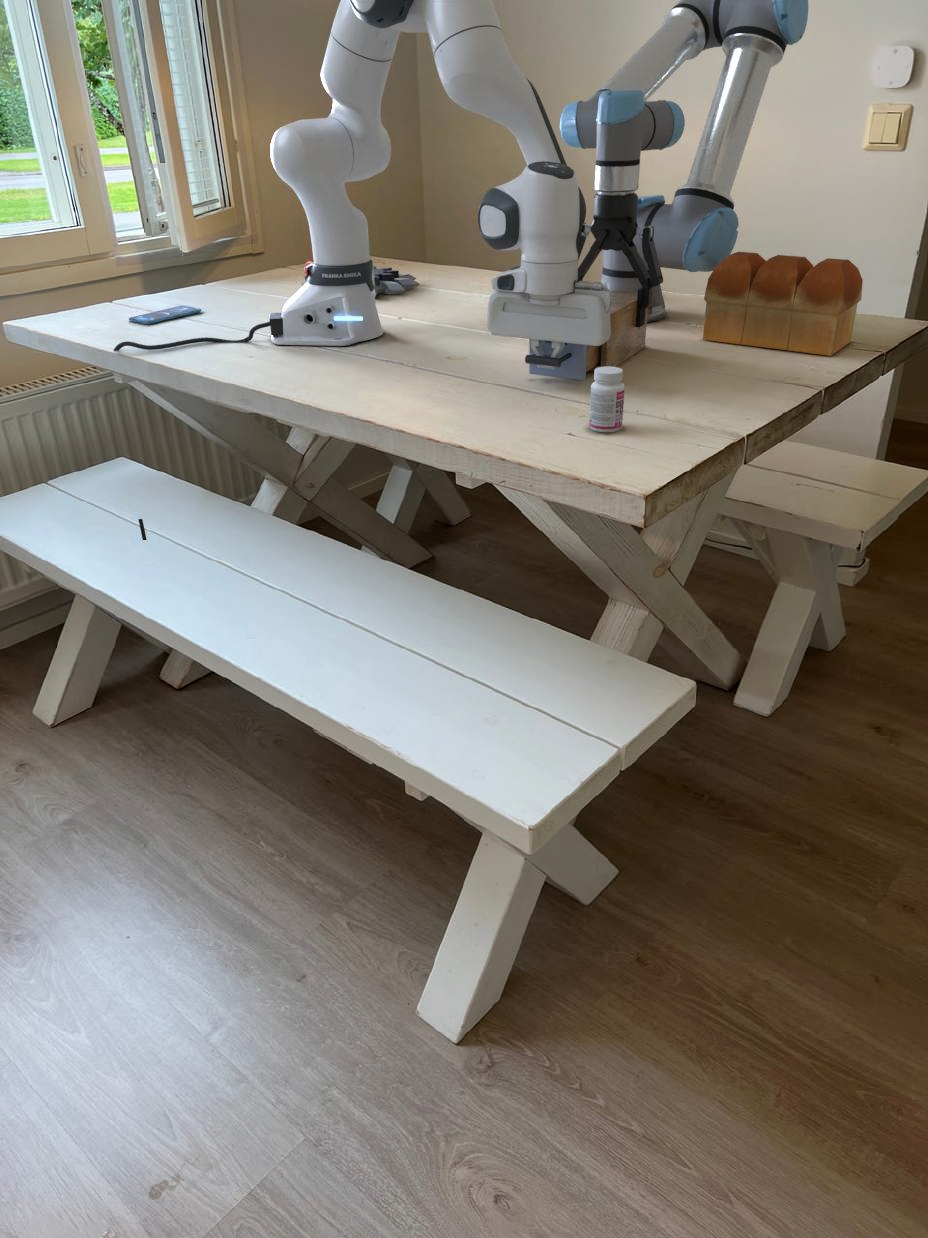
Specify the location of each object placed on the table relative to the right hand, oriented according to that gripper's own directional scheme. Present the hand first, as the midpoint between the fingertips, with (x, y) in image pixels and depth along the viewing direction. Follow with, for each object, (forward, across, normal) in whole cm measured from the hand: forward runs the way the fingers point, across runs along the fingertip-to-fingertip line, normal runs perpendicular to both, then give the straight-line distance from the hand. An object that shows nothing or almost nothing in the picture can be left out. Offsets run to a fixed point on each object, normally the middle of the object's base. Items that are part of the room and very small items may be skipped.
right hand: (609, 322), depth 173 cm
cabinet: (+5, 0, +5) cm, 7 cm away
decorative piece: (+5, +77, -31) cm, 84 cm away
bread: (+5, -26, -18) cm, 33 cm away
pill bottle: (+5, -16, +42) cm, 46 cm away
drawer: (+4, 0, +17) cm, 18 cm away
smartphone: (+5, +101, +11) cm, 102 cm away
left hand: (+2, 0, +27) cm, 27 cm away
